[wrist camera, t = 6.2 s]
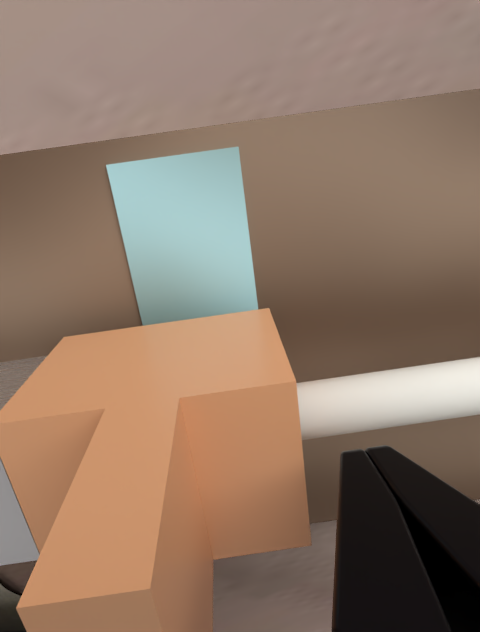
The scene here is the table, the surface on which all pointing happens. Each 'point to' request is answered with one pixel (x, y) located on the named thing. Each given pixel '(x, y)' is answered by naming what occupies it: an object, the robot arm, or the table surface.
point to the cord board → (268, 251)
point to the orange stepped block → (153, 470)
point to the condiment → (9, 612)
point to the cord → (389, 398)
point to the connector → (3, 506)
